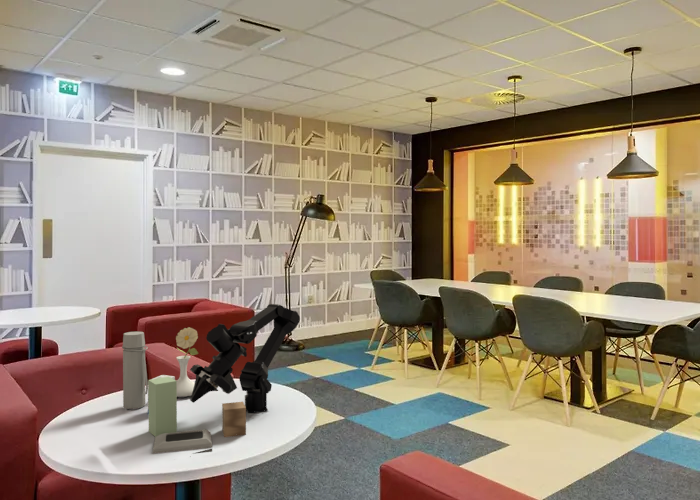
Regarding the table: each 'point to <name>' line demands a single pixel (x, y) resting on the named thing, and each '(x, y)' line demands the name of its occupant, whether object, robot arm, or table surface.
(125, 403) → the water bottle
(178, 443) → the grey tray
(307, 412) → the table surface
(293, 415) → the table surface
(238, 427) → the walnut block
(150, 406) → the sage key
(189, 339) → the flower in vase
